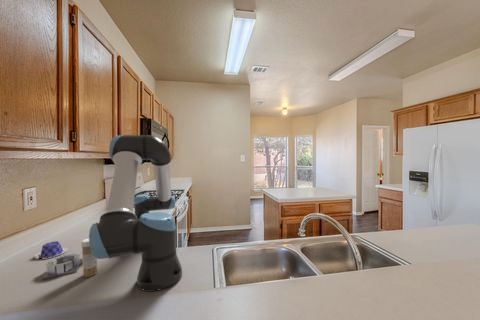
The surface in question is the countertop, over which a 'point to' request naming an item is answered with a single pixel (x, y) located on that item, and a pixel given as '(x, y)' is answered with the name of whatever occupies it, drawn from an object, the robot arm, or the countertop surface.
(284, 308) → the countertop surface
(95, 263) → the sprinkles bottle
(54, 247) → the checkered hat
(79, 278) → the countertop surface
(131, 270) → the countertop surface
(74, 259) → the collar
